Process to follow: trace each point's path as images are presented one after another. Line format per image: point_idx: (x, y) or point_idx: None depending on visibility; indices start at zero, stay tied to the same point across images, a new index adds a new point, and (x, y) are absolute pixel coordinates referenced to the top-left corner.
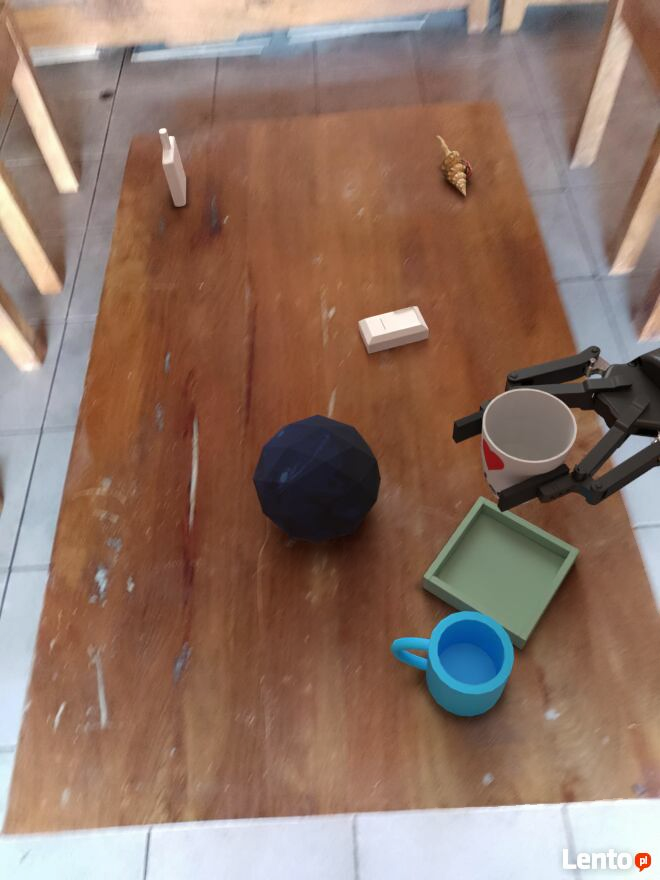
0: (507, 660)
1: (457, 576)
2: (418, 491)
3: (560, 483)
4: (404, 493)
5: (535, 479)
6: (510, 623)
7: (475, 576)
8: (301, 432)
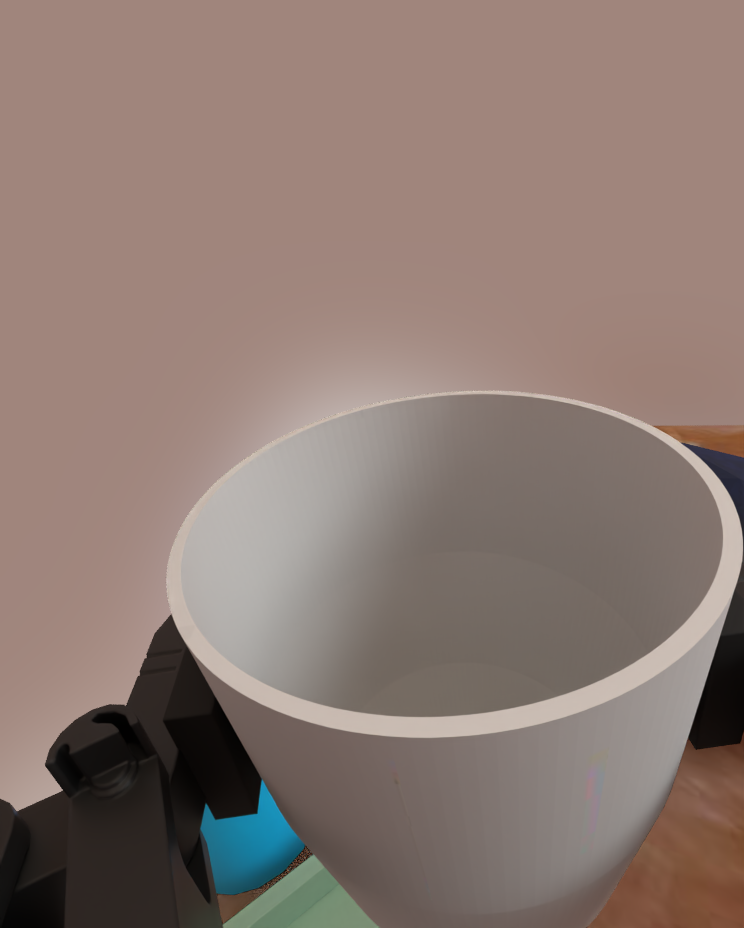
0: None
1: None
2: (722, 875)
3: (165, 691)
4: (711, 832)
5: None
6: (257, 917)
7: None
8: (718, 459)
